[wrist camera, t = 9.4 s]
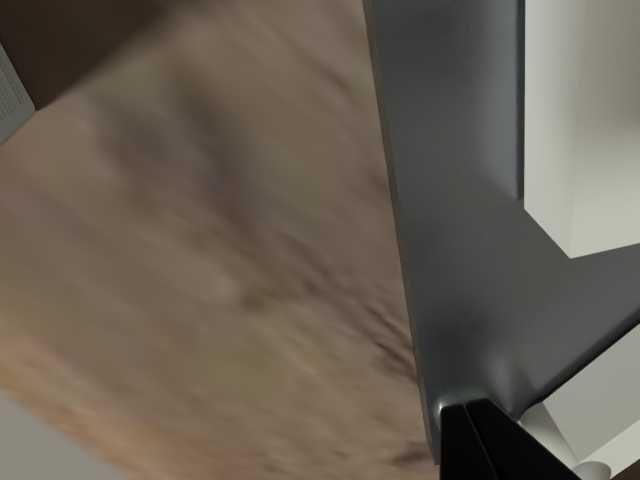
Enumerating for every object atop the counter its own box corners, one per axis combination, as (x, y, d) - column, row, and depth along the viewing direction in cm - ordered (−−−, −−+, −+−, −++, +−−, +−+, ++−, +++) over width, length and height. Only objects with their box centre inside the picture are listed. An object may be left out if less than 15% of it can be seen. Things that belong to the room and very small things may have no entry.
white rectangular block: (542, 443, 24) (575, 506, 22) (507, 425, 23) (538, 488, 21) (741, 291, 21) (810, 344, 18) (709, 263, 20) (777, 315, 17)
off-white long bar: (517, -174, 12) (588, -198, 10) (621, -199, 12) (719, -229, 10) (518, 209, 18) (563, 260, 15) (590, 193, 17) (647, 241, 15)
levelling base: (692, 379, 26) (736, 425, 23) (426, 438, 26) (443, 490, 24) (848, -241, 14) (971, -273, 11) (345, -120, 14) (363, -128, 11)
